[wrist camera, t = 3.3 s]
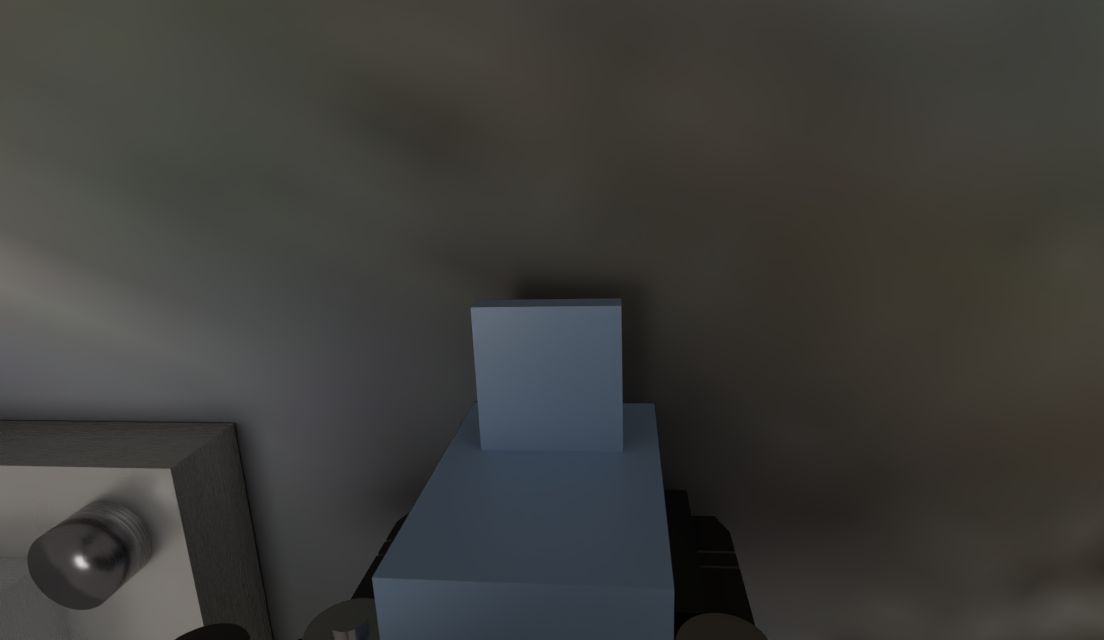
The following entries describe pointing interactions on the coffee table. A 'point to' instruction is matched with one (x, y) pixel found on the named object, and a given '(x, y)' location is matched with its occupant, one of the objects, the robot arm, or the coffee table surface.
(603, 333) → the block
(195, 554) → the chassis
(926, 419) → the coffee table surface
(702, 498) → the coffee table surface
